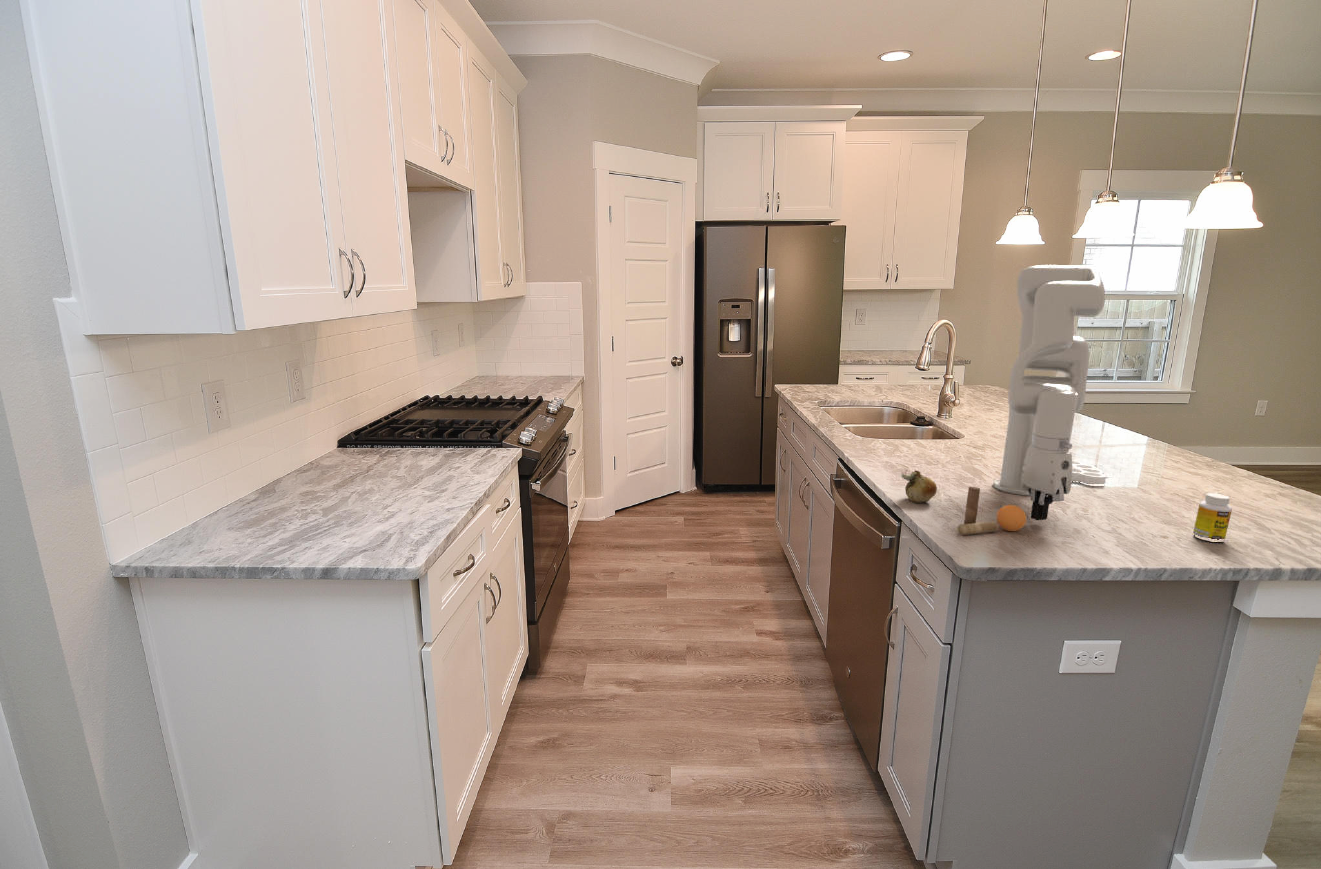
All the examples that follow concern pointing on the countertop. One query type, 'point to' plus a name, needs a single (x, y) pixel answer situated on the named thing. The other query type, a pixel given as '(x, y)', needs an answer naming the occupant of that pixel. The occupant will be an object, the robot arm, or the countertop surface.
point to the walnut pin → (972, 505)
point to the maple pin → (977, 528)
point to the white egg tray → (1087, 473)
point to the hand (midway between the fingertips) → (1038, 518)
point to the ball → (1011, 518)
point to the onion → (919, 487)
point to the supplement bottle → (1213, 517)
